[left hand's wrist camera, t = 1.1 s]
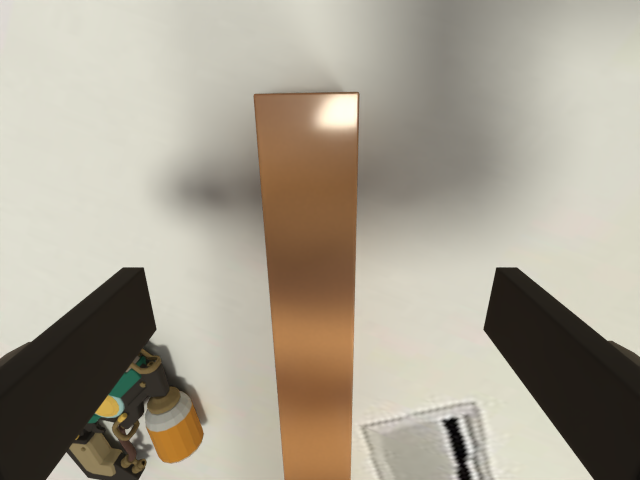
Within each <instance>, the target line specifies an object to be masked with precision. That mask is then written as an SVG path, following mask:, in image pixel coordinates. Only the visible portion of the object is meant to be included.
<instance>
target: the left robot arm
mask: <svg viewBox="0 0 640 480" xmlns="http://www.w3.org/2000/svg"><path fill="white" fill-rule="evenodd" d="M156 330H157V329H156V325H155V320H154V315H153V310H152V305H151V301H150V296H149V291H148V286H147V281H146V276H145V272H144V268H122V269H121V270H119V271H118V272H117V273H116V274H114V275H113V276H112V277H111V278H110V279H108V280H107V281H106V282H105V283H103V284H102V285H101V286H100V287H98V288H97V289H96V290H95V291H94V292H92V293H91V294H90V295H89V296H87V297H86V298H85V299H84V300H82V301H81V302H80V303H79V304H77V305H76V306H75V307H74V308H73V309H71V310H70V311H69V312H68V313H66V314H65V315H64V316H63V317H61V318H60V319H59V320H58V321H57V322H55V323H54V324H53V325H52V326H50V327H49V328H48V329H47V330H45V331H44V332H43V333H42V334H41V335H39V336H38V337H37V338H36V339H34V340H33V341H32V342H28V343H26V344H24V345H22V346H20V347H19V348H17V349H15V350H13V351H11V352H9V353H7V354H6V355H4V356H3V357H2V358H1V359H0V480H46V479H47V477H48V476H49V475H50V473H51V472H52V471H53V469H54V468H55V467H56V465H57V464H58V463H59V461H60V460H61V458H62V457H63V456H64V454H65V453H66V452H67V450H68V449H69V448H70V446H71V445H72V444H73V442H74V441H75V439H76V438H77V437H78V435H79V434H80V433H81V431H82V430H83V429H84V427H85V426H86V425H87V423H88V422H89V420H90V419H91V418H92V416H93V415H94V414H95V412H96V411H97V410H98V408H99V407H100V406H101V404H102V403H103V401H104V400H105V399H106V397H107V396H108V395H109V393H110V392H111V391H112V389H113V388H114V387H115V385H116V384H117V382H118V381H119V380H120V378H121V377H122V376H123V374H124V373H125V372H126V370H127V369H128V368H129V366H130V365H131V363H132V362H133V361H134V359H135V358H136V357H137V355H138V354H139V353H140V351H141V350H142V349H143V347H144V346H145V344H146V343H147V342H148V340H149V339H150V338H151V336H152V335H153V334H154V332H155V331H156ZM483 330H484V331H485V332H486V334H487V335H488V336H489V338H490V339H491V340H492V342H493V343H494V344H495V346H496V347H497V349H498V350H499V351H500V353H501V354H502V355H503V357H504V358H505V359H506V361H507V362H508V363H509V365H510V366H511V368H512V369H513V370H514V372H515V373H516V374H517V376H518V377H519V378H520V380H521V381H522V382H523V384H524V385H525V387H526V388H527V389H528V391H529V392H530V393H531V395H532V396H533V397H534V399H535V400H536V401H537V403H538V404H539V406H540V407H541V408H542V410H543V411H544V412H545V414H546V415H547V416H548V418H549V419H550V420H551V422H552V423H553V425H554V426H555V427H556V429H557V430H558V431H559V433H560V434H561V435H562V437H563V438H564V439H565V441H566V442H567V444H568V445H569V446H570V448H571V449H572V450H573V452H574V453H575V454H576V456H577V457H578V458H579V460H580V461H581V463H582V464H583V465H584V467H585V468H586V469H587V471H588V472H589V473H590V475H591V476H592V478H593V479H594V480H640V357H639V356H638V355H636V354H635V353H634V352H632V351H630V350H628V349H626V348H624V347H622V346H620V345H619V344H617V343H615V342H613V341H607V340H606V339H604V338H603V337H602V336H601V335H599V334H598V333H597V332H596V331H595V330H593V329H592V328H591V327H590V326H588V325H587V324H586V323H585V322H583V321H582V320H581V319H580V318H579V317H577V316H576V315H575V314H574V313H572V312H571V311H570V310H569V309H567V308H566V307H565V306H564V305H562V304H561V303H560V302H559V301H558V300H556V299H555V298H554V297H553V296H551V295H550V294H549V293H548V292H546V291H545V290H544V289H543V288H542V287H540V286H539V285H538V284H537V283H535V282H534V281H533V280H532V279H530V278H529V277H528V276H527V275H526V274H524V273H523V272H522V271H521V270H519V269H518V268H496V272H495V276H494V281H493V286H492V291H491V296H490V301H489V305H488V310H487V315H486V320H485V325H484V329H483Z"/></svg>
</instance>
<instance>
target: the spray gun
mask: <svg viewBox="0 0 640 480" xmlns="http://www.w3.org/2000/svg"><path fill="white" fill-rule="evenodd" d="M141 354H142V355H143V356H141V357H139V356H140V355H141ZM144 356H145V357H146V358H148V359H149V360H156V361H155V362H154V361H152V362H149V363H148V364H147V365H146V358H145V357H144ZM148 396H151V397H150V399H149V401H148V403H147V408H148V409H147V411H146V414H145V420H146V428H147V430H148V433H149V435H150V437H151V440H152V442H153V444H154V447H155V449H156V452H157V454H158V456H159V458H160V459H161V460H162V461H163V462H166V463H171V464H172V463H177V462H181V461H182V460H184V459H186V458H188V457H190V456H191V455H192V454H193V453H194V452H195V451H196V450H197V449H198V447H199V446H200V444H201V443H202V439H203V435H204V433H203V429H202V426H201V424H200V421H199V419H198V416H197V414H196V411H195V408H194V406H193V403H192V401H191V399H190V398H189V396H188V395H187V394H185V393H184V392H181V391H179V389H177V388H176V387H171V386H170V387H169V384H168V381H167V378H166V375H165V371H164V368H163V365H162V363H161V359H160V357H159V356H157V355H155V356H152V355H151V354H149V353H148V352H147V351H145V350H144V349H142V350H141V351H140V353H139V354H138V355H137V357H136V358H135V359H134V361H133V362H132V363H131V365H130V366H129V368H128V369H127V370H126V372H125V373H124V374H123V376H122V377H121V378H120V380H119V381H118V382H117V384H116V385H115V387H114V388H113V389H112V391H111V392H110V393H109V395H108V396H107V397H106V399H105V400H104V401H103V403H102V404H101V406H100V407H99V408H98V410H97V411H96V412H95V414H94V415H93V416H92V418H91V419H90V420H89V422H88V423H87V425H86V426H85V427H84V429H83V430H82V431H81V433H80V434H79V435H78V437H77V438H76V439H75V441H74V442H73V444H72V445H71V446H70V448H69V449H68V450H67V453H68V454H69V456H70V457H71V458H72V459H73V460H74V462H75V463H76V464H77V465H78V466H79V467H80V469H81V470H82V471H83V472H84V473H85V475H86V476H87V477H88V478H93V479H99V480H138V479H139V478H140V476H141V474H142V473H143V471H144V469H145V466H146V463H147V462H146V460H145V459H140V460H139V461H138V460H137V459H136V450H135V448H134V446H133V445H132V444H131V442H130V441H129V440H130V438H131V437H132V436H133V435H134V434H135V432H136V431H137V429H138V427H139V424H140V423H139V421H138V419H139V418H140V417H141V416H142V415H143V413H144V402H143V401H144V400H145V399H146V398H147V397H148ZM99 419H102V420H106V421H110V422H114V424H113V427H112V431H113V433H114V435H115V436H116V437H117V438H118V439H119V441H120V443H121V445H122V447H123V448H124V449H125V450H126V452H127V453H128V454H127V455H126V454H125V453H123V451H122V450H120V449H114V448H111V446H110V445H109V443H108V442H107V440H106V439H105V437H104V436H103V434H102V433H104V432H105V431H106V429H105V428H103V427H101V425H100V424H98V420H99ZM133 424H134V426H133V428H132V430H131V431H130V432H129V434H128V435H126V433H125V429H129V428H130V427H131V426H132V425H133ZM118 425H119V426H118Z"/></svg>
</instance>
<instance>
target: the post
mask: <svg viewBox="0 0 640 480" xmlns="http://www.w3.org/2000/svg"><path fill="white" fill-rule="evenodd" d="M254 107H255V120H256V132H257V144H258V157H259V169H260V181H261V194H262V206H263V219H264V231H265V243H266V256H267V268H268V280H269V293H270V305H271V318H272V330H273V342H274V355H275V367H276V379H277V392H278V404H279V417H280V429H281V441H282V454H283V466H284V479H285V480H351V436H352V392H353V349H354V305H355V262H356V218H357V174H358V131H359V92H325V93H273V94H254Z"/></svg>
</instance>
